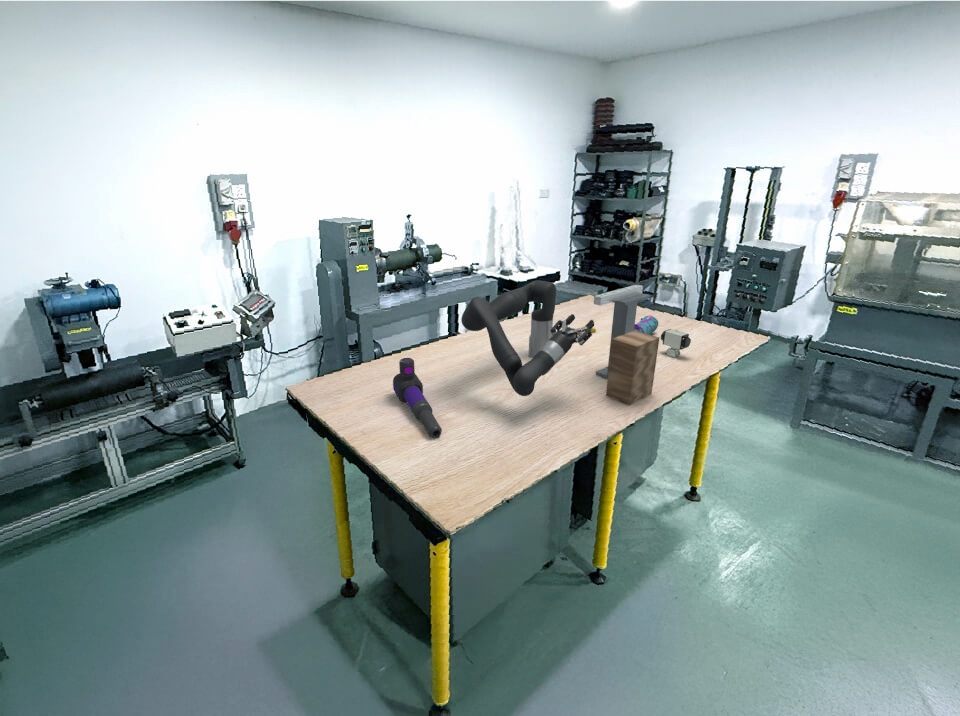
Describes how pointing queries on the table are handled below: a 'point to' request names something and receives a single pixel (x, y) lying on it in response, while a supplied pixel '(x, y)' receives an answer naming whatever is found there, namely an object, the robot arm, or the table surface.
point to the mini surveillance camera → (675, 341)
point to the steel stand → (622, 321)
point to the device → (415, 396)
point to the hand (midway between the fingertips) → (583, 318)
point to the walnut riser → (632, 366)
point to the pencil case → (647, 325)
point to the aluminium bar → (618, 295)
